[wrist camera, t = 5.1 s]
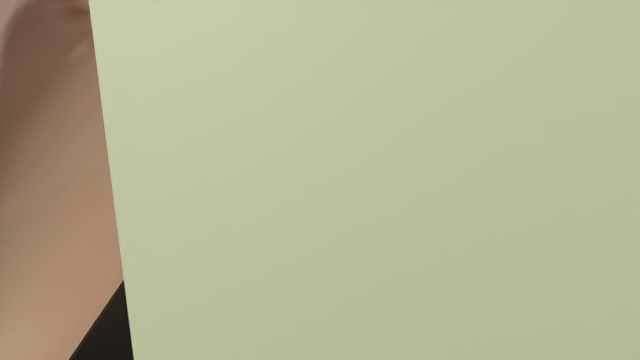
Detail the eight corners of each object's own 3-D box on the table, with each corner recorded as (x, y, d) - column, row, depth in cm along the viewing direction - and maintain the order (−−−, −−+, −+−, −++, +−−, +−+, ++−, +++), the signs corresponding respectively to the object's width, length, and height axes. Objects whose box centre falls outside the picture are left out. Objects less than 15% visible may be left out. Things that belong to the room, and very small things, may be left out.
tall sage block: (400, 336, 15) (1112, 644, 3) (247, 370, 14) (217, 1026, 2) (369, 186, 15) (814, -135, 3) (222, 211, 15) (78, -80, 2)
